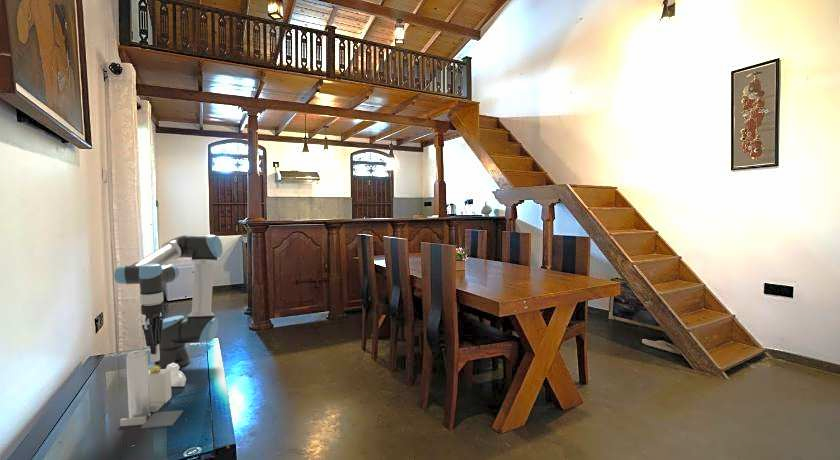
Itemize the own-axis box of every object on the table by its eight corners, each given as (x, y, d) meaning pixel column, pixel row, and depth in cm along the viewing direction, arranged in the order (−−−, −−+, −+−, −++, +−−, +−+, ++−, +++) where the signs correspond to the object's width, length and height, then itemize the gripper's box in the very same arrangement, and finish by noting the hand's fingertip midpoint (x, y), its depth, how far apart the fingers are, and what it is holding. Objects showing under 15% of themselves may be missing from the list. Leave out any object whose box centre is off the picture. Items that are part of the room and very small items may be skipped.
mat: (154, 414, 150) (154, 412, 150) (183, 411, 151) (183, 410, 151) (140, 428, 140) (140, 427, 140) (171, 425, 142) (171, 424, 142)
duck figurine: (174, 385, 178) (154, 370, 173) (188, 371, 182) (170, 356, 177) (179, 395, 169) (159, 379, 164) (194, 380, 173) (175, 364, 168)
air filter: (139, 423, 143) (136, 356, 142) (124, 421, 144) (121, 354, 143) (154, 414, 150) (152, 349, 148) (140, 412, 151) (137, 348, 149)
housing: (147, 399, 161) (146, 370, 161) (171, 397, 163) (170, 368, 162) (118, 426, 141) (117, 393, 141) (146, 424, 143) (145, 391, 142)
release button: (152, 373, 161) (152, 365, 160) (162, 373, 161) (162, 365, 161) (148, 377, 157) (147, 369, 157) (158, 376, 158) (157, 368, 157)
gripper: (149, 299, 163) (152, 355, 165) (133, 308, 150) (136, 368, 152) (169, 298, 164) (172, 353, 166) (154, 307, 152) (158, 366, 153)
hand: (155, 360), depth 159 cm, fingers closed
